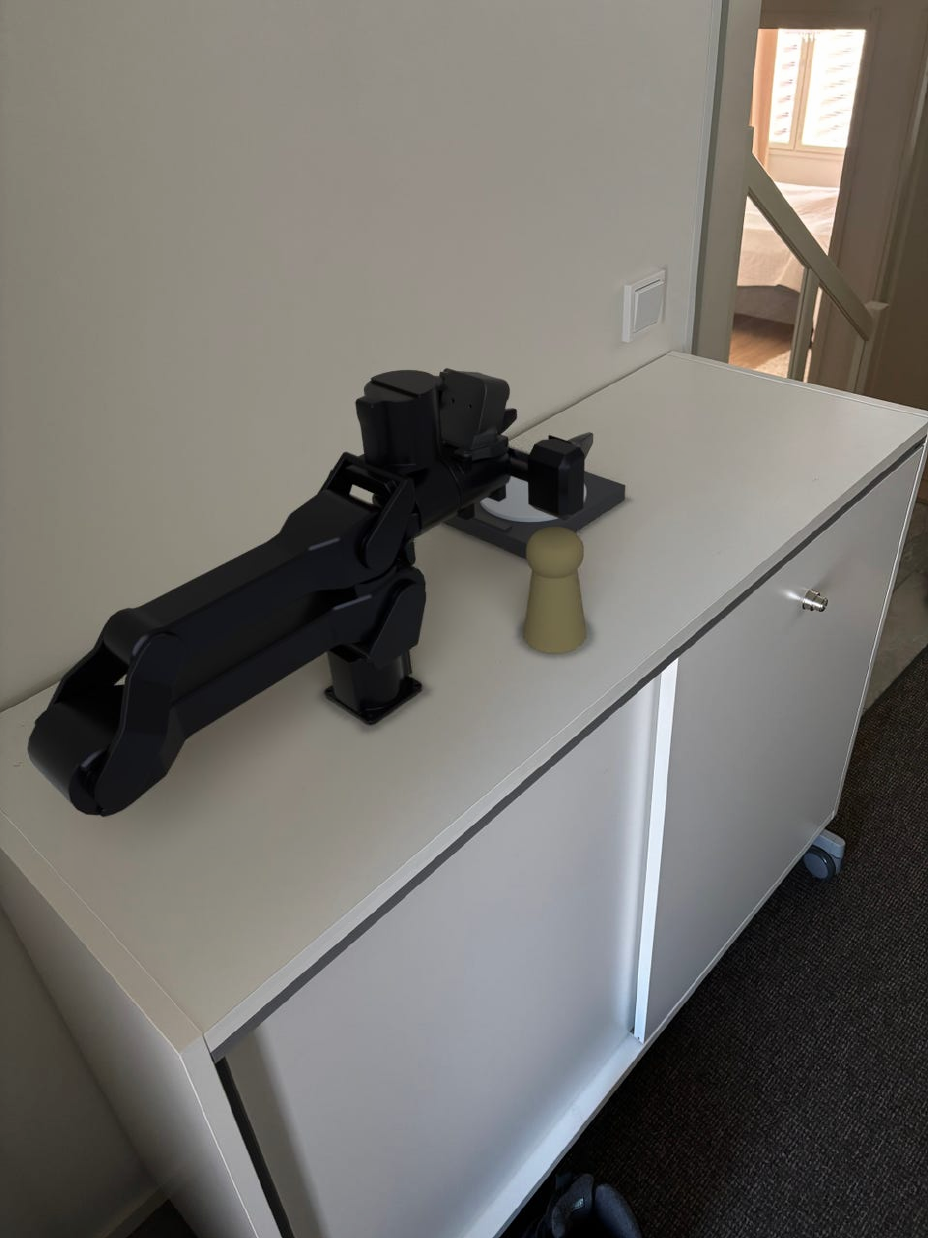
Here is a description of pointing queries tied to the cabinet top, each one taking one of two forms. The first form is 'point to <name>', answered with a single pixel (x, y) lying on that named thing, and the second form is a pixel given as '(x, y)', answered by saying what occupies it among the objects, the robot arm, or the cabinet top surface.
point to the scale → (534, 513)
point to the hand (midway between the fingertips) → (552, 424)
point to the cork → (554, 591)
